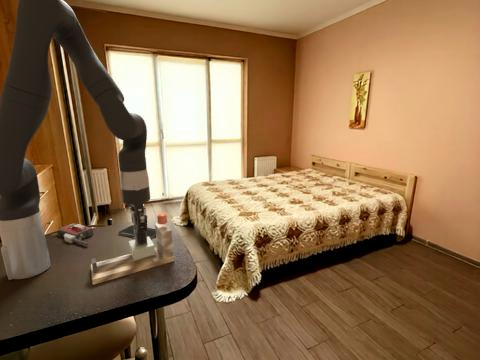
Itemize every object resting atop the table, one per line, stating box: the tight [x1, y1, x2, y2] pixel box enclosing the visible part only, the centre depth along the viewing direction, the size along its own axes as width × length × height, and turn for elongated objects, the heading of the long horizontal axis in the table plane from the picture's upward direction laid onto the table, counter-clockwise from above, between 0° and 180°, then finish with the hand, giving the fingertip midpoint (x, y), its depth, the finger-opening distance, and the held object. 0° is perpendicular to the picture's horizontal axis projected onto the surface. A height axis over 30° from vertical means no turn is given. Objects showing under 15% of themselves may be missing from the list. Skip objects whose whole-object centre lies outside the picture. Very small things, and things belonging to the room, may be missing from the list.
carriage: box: [128, 227, 156, 260], centre depth 77 cm, size 6×7×8 cm
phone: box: [118, 224, 156, 240], centre depth 98 cm, size 8×1×15 cm
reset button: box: [156, 213, 168, 224], centre depth 79 cm, size 3×3×2 cm
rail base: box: [90, 222, 175, 285], centre depth 76 cm, size 22×9×10 cm, turn 121°
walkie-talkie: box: [56, 223, 94, 246], centre depth 95 cm, size 9×4×20 cm
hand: (141, 240), depth 77 cm, fingers closed on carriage, 3 cm apart
